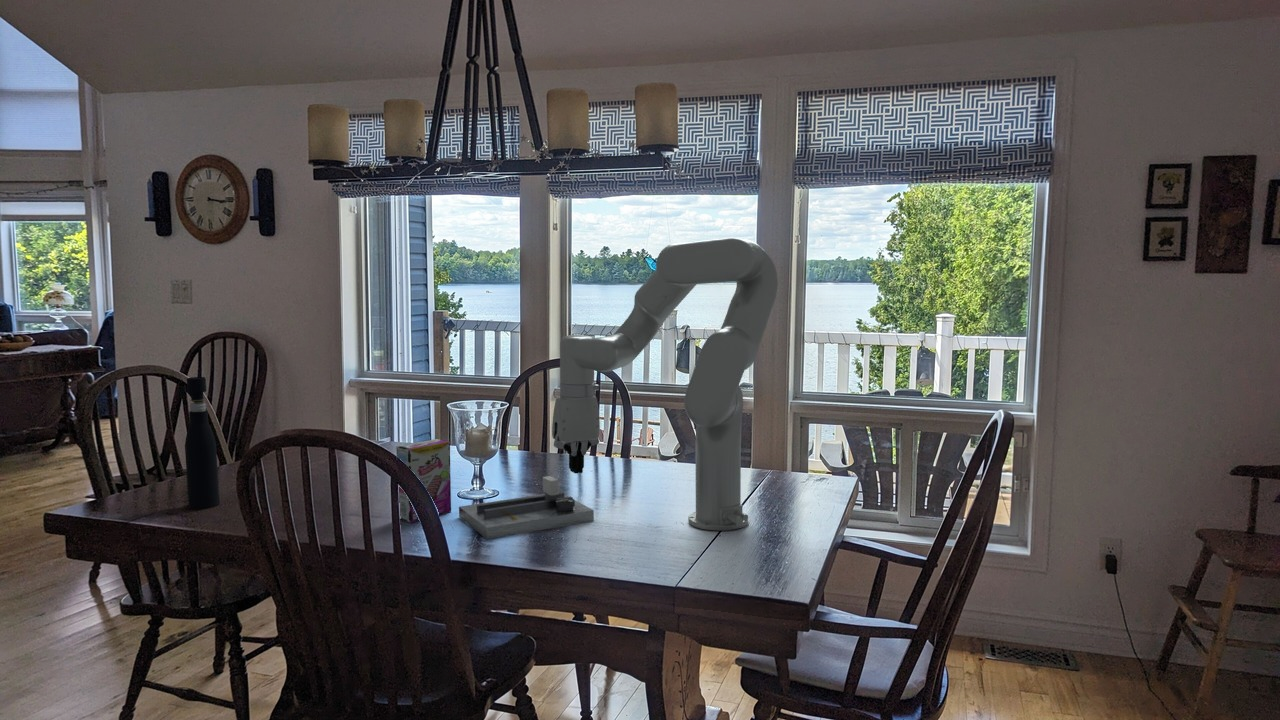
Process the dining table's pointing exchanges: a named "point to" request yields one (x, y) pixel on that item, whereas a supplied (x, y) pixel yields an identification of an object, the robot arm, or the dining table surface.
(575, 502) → the console
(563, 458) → the dining table surface
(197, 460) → the black water bottle
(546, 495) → the block
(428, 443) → the candy bar box
